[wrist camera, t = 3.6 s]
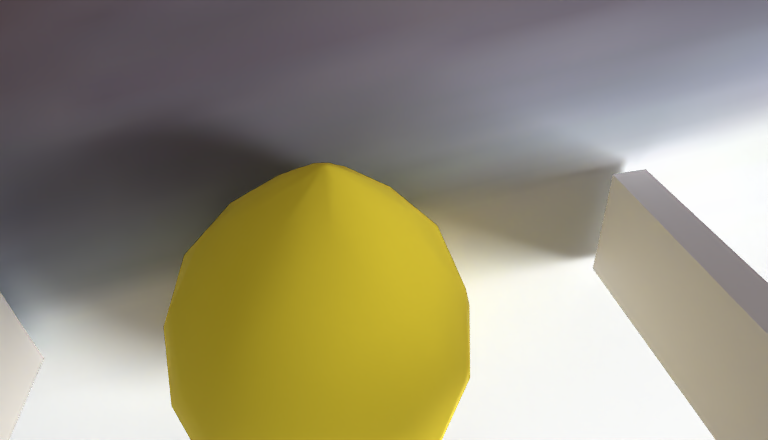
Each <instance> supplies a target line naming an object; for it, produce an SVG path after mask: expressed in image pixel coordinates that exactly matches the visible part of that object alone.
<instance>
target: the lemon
mask: <svg viewBox="0 0 768 440" xmlns="http://www.w3.org/2000/svg"><path fill="white" fill-rule="evenodd" d="M164 336H165V346H166V356H167V366H168V376H169V385H170V395H171V405H172V408H173V409H174V411H175V413H176V415H177V416H178V418H179V420H180V422H181V423H182V425H183V427H184V429H185V430H186V432H187V434H188V436H189V437H190V439H191V440H442V438H443V436H444V434H445V432H446V429H447V427H448V425H449V423H450V421H451V418H452V416H453V414H454V412H455V410H456V407H457V405H458V403H459V401H460V399H461V396H462V394H463V392H464V390H465V388H466V385H467V383H468V381H469V379H470V325H469V302H468V297H467V292H466V288H465V286H464V284H463V282H462V279H461V277H460V275H459V273H458V270H457V268H456V266H455V264H454V261H453V259H452V257H451V255H450V252H449V250H448V248H447V246H446V243H445V241H444V239H443V237H442V235H441V232H440V230H439V228H438V226H437V225H436V224H435V223H434V222H432V221H431V220H430V219H429V218H428V217H426V216H425V215H424V214H423V213H421V212H420V211H419V210H418V209H417V208H415V207H414V206H413V205H412V204H410V203H409V202H408V201H407V200H406V199H404V198H403V197H402V196H401V195H399V194H398V193H397V192H396V191H395V190H393V189H392V188H391V187H389V186H387V185H385V184H383V183H380V182H378V181H376V180H374V179H372V178H369V177H367V176H365V175H363V174H361V173H358V172H356V171H354V170H352V169H350V168H347V167H345V166H340V165H335V164H332V163H313V164H310V165H307V166H304V167H300V168H297V169H294V170H292V171H289V172H286V173H283V174H281V175H278V176H276V177H275V178H273V179H271V180H269V181H268V182H266V183H264V184H262V185H261V186H259V187H257V188H256V189H254V190H252V191H250V192H248V193H247V194H245V195H243V196H242V197H240V198H238V199H236V200H235V201H233V202H231V203H230V204H229V205H228V206H227V207H226V208H225V210H224V211H223V212H222V213H221V214H220V215H219V216H218V218H217V219H216V220H215V221H214V222H213V223H212V224H211V225H210V227H209V228H208V229H207V230H206V231H205V232H204V233H203V234H202V236H201V237H200V238H199V239H198V240H197V241H196V242H195V243H194V245H193V246H192V247H191V248H190V249H189V250H188V251H187V252H186V254H185V255H184V257H183V261H182V264H181V268H180V271H179V275H178V278H177V282H176V285H175V289H174V292H173V296H172V299H171V303H170V306H169V310H168V313H167V317H166V320H165V323H164Z"/></svg>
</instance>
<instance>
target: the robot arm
mask: <svg viewBox="0 0 768 440" xmlns="http://www.w3.org/2000/svg"><path fill="white" fill-rule="evenodd" d="M593 269H594V271H595V272H596V274H597V275H598V276H599V278H600V279H601V281H602V282H603V283H604V285H605V286H606V288H607V289H608V290H609V292H610V293H611V294H612V296H613V297H614V299H615V300H616V301H617V303H618V304H619V306H620V307H621V308H622V310H623V311H624V313H625V314H626V315H627V317H628V318H629V320H630V321H631V322H632V324H633V325H634V327H635V328H636V329H637V331H638V332H639V334H640V335H641V336H642V338H643V339H644V340H645V342H646V343H647V345H648V346H649V347H650V349H651V350H652V352H653V353H654V354H655V356H656V357H657V359H658V360H659V361H660V363H661V364H662V366H663V367H664V368H665V370H666V371H667V373H668V374H669V375H670V377H671V378H672V380H673V381H674V382H675V384H676V385H677V386H678V388H679V389H680V391H681V392H682V393H683V395H684V396H685V398H686V399H687V400H688V402H689V403H690V405H691V406H692V407H693V409H694V410H695V412H696V413H697V414H698V416H699V417H700V419H701V420H702V421H703V423H704V424H705V426H706V427H707V428H708V430H709V431H710V432H711V434H712V435H713V437H714V438H715V439H716V440H768V283H767V282H766V281H765V280H764V279H763V278H762V277H761V276H760V275H759V274H757V273H756V272H755V271H754V270H753V269H752V268H751V267H750V266H749V265H748V264H747V263H746V262H745V261H743V260H742V259H741V258H740V257H739V256H738V255H737V254H736V253H735V252H734V251H733V250H732V249H731V248H729V247H728V246H727V245H726V244H725V243H724V242H723V241H722V240H721V239H720V238H719V237H718V236H717V235H716V234H714V233H713V232H712V231H711V230H710V229H709V228H708V227H707V226H706V225H705V224H704V223H703V222H702V221H700V220H699V219H698V218H697V217H696V216H695V215H694V214H693V213H692V212H691V211H690V210H689V209H688V208H687V207H685V206H684V205H683V204H682V203H681V202H680V201H679V200H678V199H677V198H676V197H675V196H674V195H673V194H671V193H670V192H669V191H668V190H667V189H666V188H665V187H664V186H663V185H662V184H661V183H660V182H659V181H657V180H656V179H655V178H654V177H653V176H652V175H651V174H650V173H649V172H648V171H647V170H646V169H645V170H639V171H632V172H625V173H618V174H613V176H612V181H611V185H610V190H609V195H608V199H607V204H606V209H605V214H604V218H603V223H602V228H601V232H600V237H599V242H598V247H597V251H596V256H595V261H594V265H593ZM43 360H44V358H43V356H42V355H41V353H40V352H39V350H38V348H37V347H36V345H35V344H34V342H33V341H32V339H31V338H30V336H29V335H28V333H27V332H26V330H25V329H24V327H23V326H22V324H21V323H20V321H19V320H18V318H17V317H16V315H15V314H14V312H13V311H12V309H11V308H10V306H9V304H8V303H7V301H6V300H5V298H4V297H3V295H2V294H1V292H0V440H9V439H10V437H11V434H12V432H13V430H14V427H15V425H16V423H17V420H18V418H19V416H20V413H21V411H22V409H23V406H24V404H25V402H26V399H27V397H28V395H29V392H30V390H31V388H32V385H33V383H34V381H35V378H36V376H37V374H38V371H39V369H40V367H41V364H42V362H43Z"/></svg>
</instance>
